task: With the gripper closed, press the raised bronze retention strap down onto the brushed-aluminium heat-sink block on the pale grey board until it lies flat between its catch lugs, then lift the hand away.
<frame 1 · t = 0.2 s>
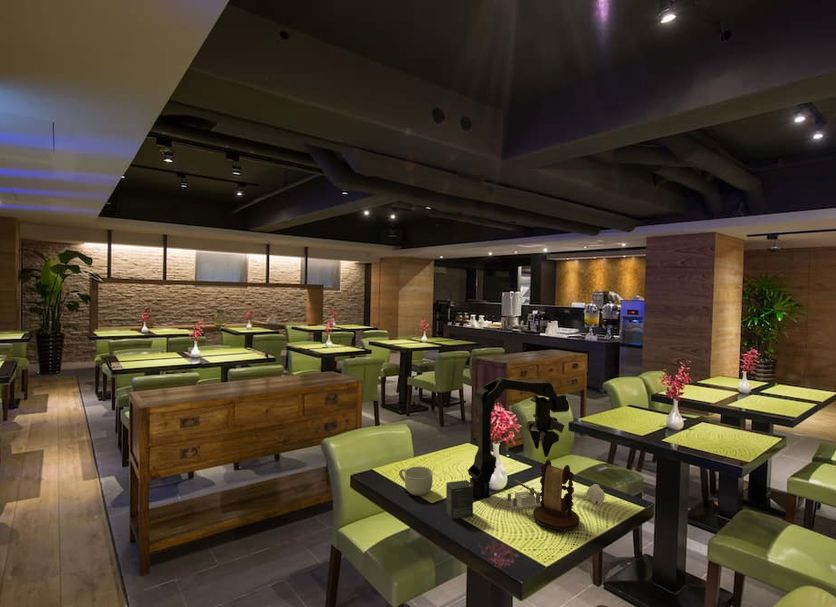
hand: (541, 452, 176), 14 cm above the table, fingers open, 9 cm apart
strap: (526, 487, 163), point 6 cm above the table, hinge at 32.0°
box: (459, 515, 153), on the table
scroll: (555, 523, 149), on the table
elephant figurine: (595, 503, 164), on the table
teacup: (415, 491, 171), on the table
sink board: (524, 503, 162), on the table
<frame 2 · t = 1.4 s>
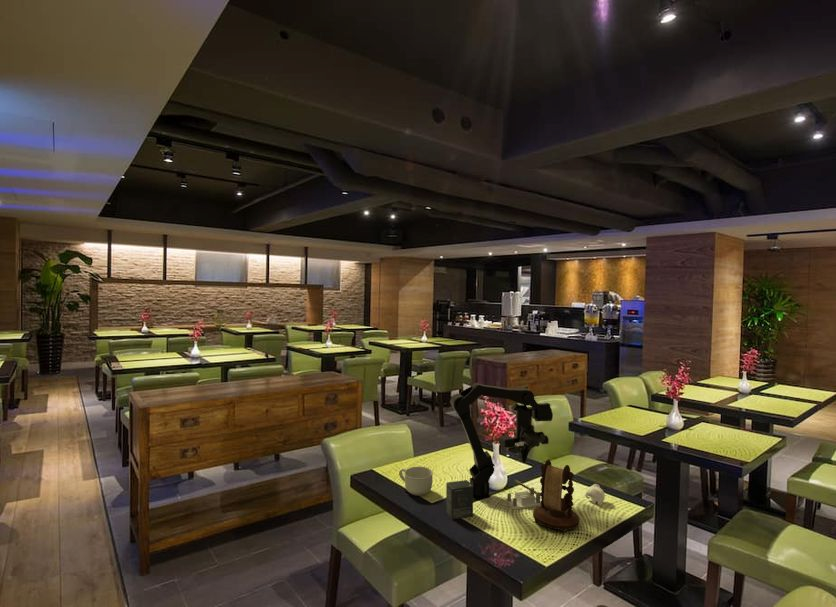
hand: (523, 462, 170), 12 cm above the table, fingers closed
nothing on the table moved.
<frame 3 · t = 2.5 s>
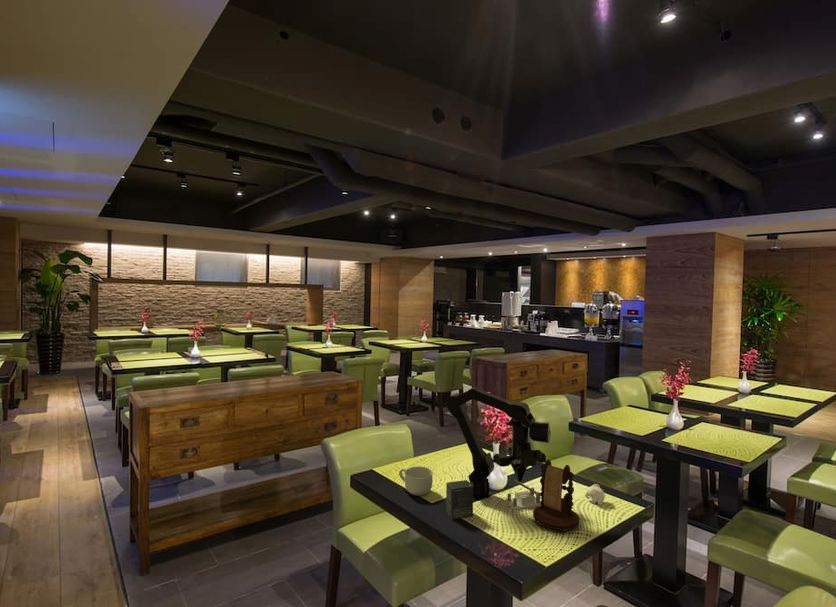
hand: (519, 481, 162), 8 cm above the table, fingers closed
strap: (526, 487, 163), point 6 cm above the table, hinge at 32.0°, touching gripper
everything else where it was.
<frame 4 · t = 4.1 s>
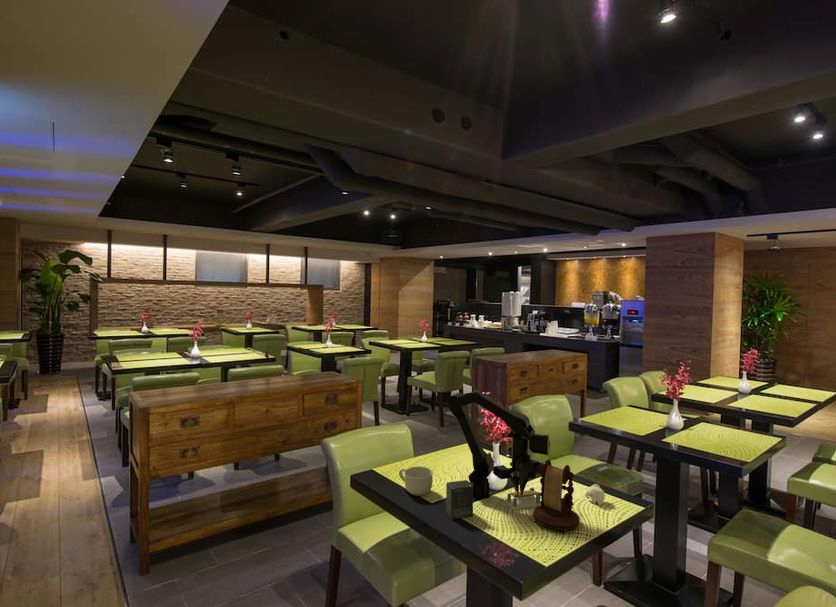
hand: (519, 493, 162), 4 cm above the table, fingers closed
strap: (524, 493, 162), point 3 cm above the table, hinge at -0.1°, touching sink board
everything else where it was.
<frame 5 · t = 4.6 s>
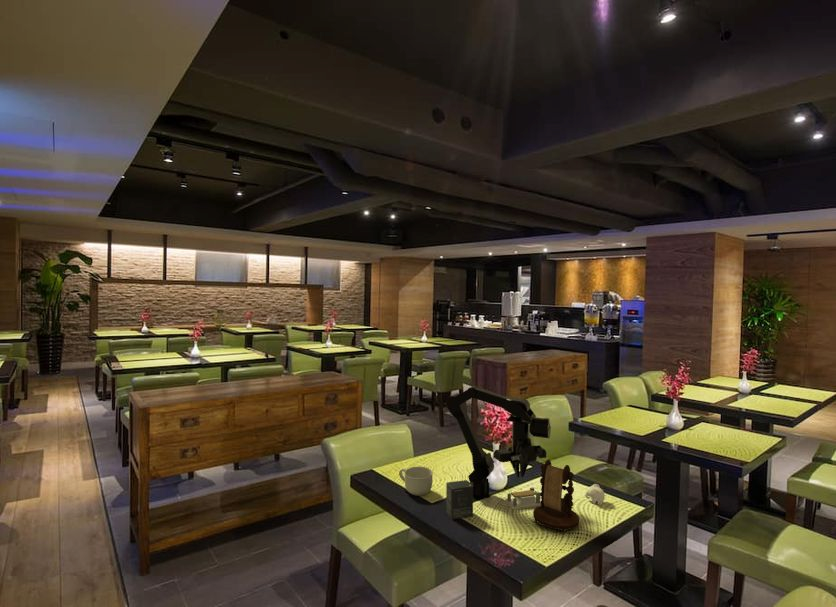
hand: (519, 477, 162), 10 cm above the table, fingers closed
nothing on the table moved.
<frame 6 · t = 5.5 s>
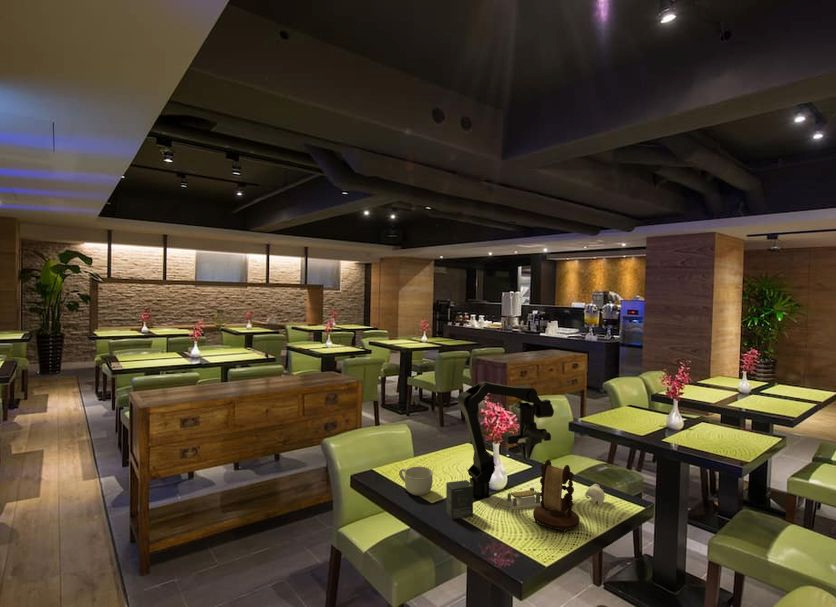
hand: (526, 458, 174), 12 cm above the table, fingers closed
nothing on the table moved.
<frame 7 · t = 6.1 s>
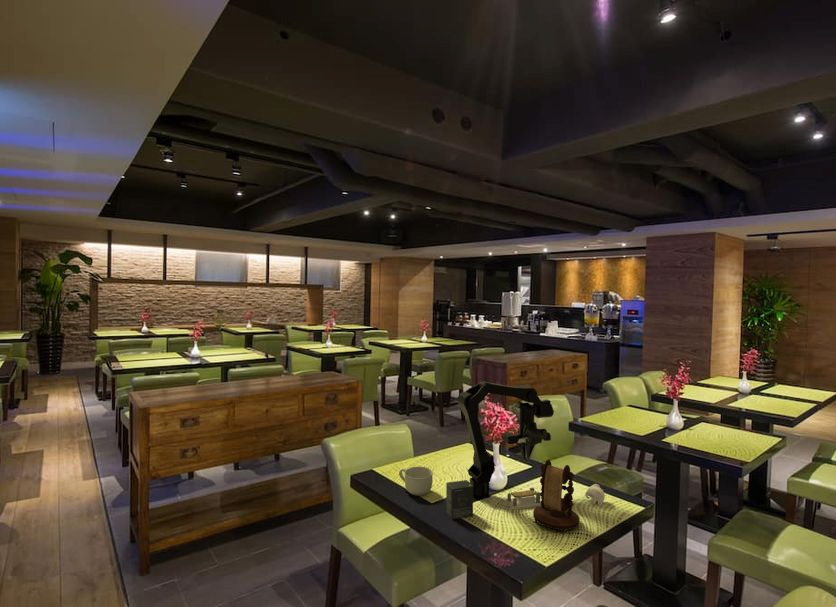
hand: (526, 458, 174), 12 cm above the table, fingers closed
nothing on the table moved.
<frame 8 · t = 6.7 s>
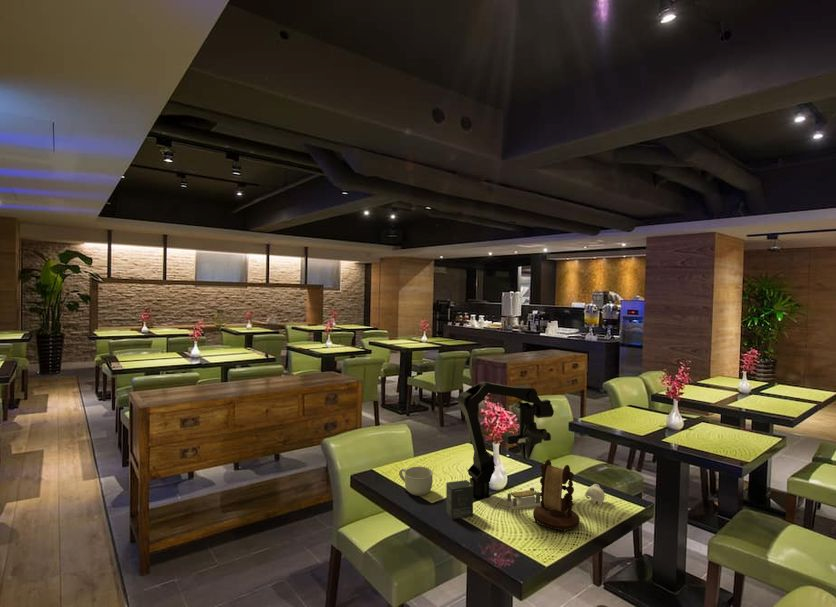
hand: (526, 458, 174), 12 cm above the table, fingers closed
nothing on the table moved.
at the end: strap at +0° (first picture: +32°) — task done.
